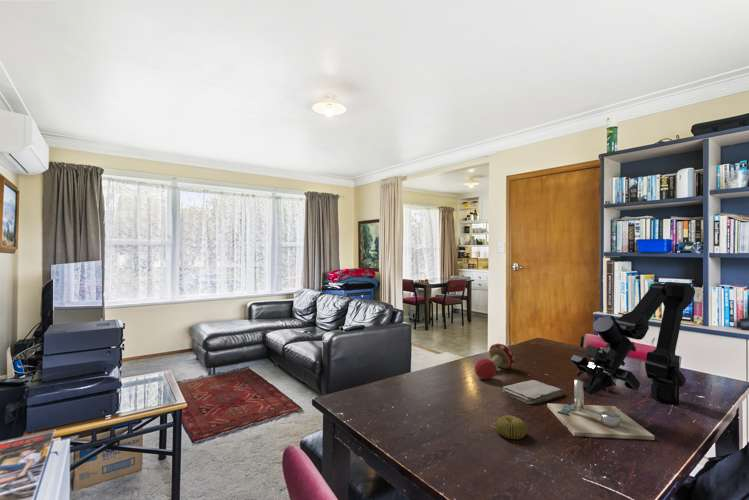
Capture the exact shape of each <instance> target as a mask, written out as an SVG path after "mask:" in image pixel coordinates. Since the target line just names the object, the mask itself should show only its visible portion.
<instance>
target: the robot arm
mask: <svg viewBox="0 0 749 500" xmlns="http://www.w3.org/2000/svg"><path fill="white" fill-rule="evenodd" d="M695 294H696V290H695V288H694V287H693V285H691V284H690V283H688V282H676V281H675V282H674V281H666V282H664V283H660V282H659V283H658V282H654V283H651V284H650V285H649V287H648V290H647V291H646V293H645V294H644V296H643V297H642V298H640V300H639V302H638V303H637V304H636V305H635V306H634V307H633V309H632V310H631V311H630V312H629V311H628V312H626V313H624V314H622V315H621V316H620V317H619V318H618V319H617V320H616V318H615V317H614V316H613V315H611V314H605V316H604V317H600V318H597V319H596V320H595V321H593V323H592V328H593V330H594V331H595V332H596V334H597V335H598V336H599V338H601V340H602V341H603V342H605V343H606V345H605V346H604V347H597V346H593V345H591V344H587V345H586V348H585V351H584V354H583V355H584V356H582V355H579V354H573V355H572V357H571V358H570V359H569V360H570V362H571V363H572V364H573V366H574V367H576V369H577V371H579V370H580V371H581V372H584V373H583V374H586V373H587V374H588V375H587V374H586V375H587V377H588V385H586V394H587V395H589V396H592V395H594V394H596V393H598V392H600V391H602V390H604V389H606V388H607V387H608V388H610V387H616V386H617V384H616V382H617V381H618V380H619V381H622V382H624V386H625V387H626V389H628V390H631V391H634V392H637V391H638V390H639V388H640V385H641V383H640V381H639V379H638V378H637V377H636V376H635V374H634V373H633V372H632V371H629V370H628V369H624V368H620V367H621V366H622V367H624V366H625V365H626V364H627V363H626V362H625V360H626V357H628V354H629V353H630V351H631V352H636V351H637V347H636V346H635V342H633V341H631V339H632V340H636V341H637V340H638V341H640V340H643V339H644V338H645V337H646V335H647V333H648V331H649V330H650V326H649V321H650V319H651V318H652V317H653V316H654V314H655V313H657V310H658V309H659V308H660V306H661V305H662V304H663V306H664V308H663V311H662V312H663V313H662V316H661V322H660V326H659V333H658V338H657V340H656V341H657V342H656V345H655V346H656V347H655V348H654V349H653V350H652V351H648V352H647V353H646V359H645V361H644V368H645V373H646V378H647V379H650V380H652V381H651V382H652V383H651V384H650V394H648V395H649V397H650V398H652V399H654V400H655V401H657V402H658V403H660V404H664V405H665V404H666V405H684V402H682V401H681V400H680V387H681V388H682V387H684V386H685V384H686V380H687V378H686V377H685V375H684V374H683V373H682V371H681V370H680V361H679V359H678V357H677V354H676V349H677V345H678V344H677V343H678V339H679V335H680V329H681V325H682V319H683V314H684V311H685V310H686V309H687V308H688V307H689V306H690V305H691V304H692V303H693V300H694V297H695ZM587 357H589V358H590V360H591V361H592V362H590V361H589V359H588V358H587Z"/></svg>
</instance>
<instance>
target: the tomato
mask: <svg viewBox="0 0 749 500" xmlns="http://www.w3.org/2000/svg"><path fill="white" fill-rule="evenodd" d="M474 369H475V370H474V371H475V374H476V375H477V377H478V378H479V379H480V380H484V381H489V380H491V379H492V378H494V377H495V376H496V373H497V367H496V366H495V364H494V363H493V361H491V360H490V359H488V358H481V359H479V360H478V361H477V362H476V363H475V366H474Z"/></svg>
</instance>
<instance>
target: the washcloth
mask: <svg viewBox="0 0 749 500" xmlns="http://www.w3.org/2000/svg"><path fill="white" fill-rule="evenodd" d="M501 389H502V390H503V391H502V392H501V393H502V394H504V395H506V396H507V397H511V398H512V399H515V400H517V401H520V403H521V402H522V403H524V404H526V405H535V404H539V403H542V402H545V401H546V402H547V401H549V400H552V399H554V398H559V397H562V396H563V395H564V393H565V392H564V390H563V389H562V388H559V387H556V386H553V385H549V384H546V383H544V382H541V381H538V380H536V379H531V380H527V381H521V382H517V383H514V384H509V385H505V386H504V385H503V387H502V388H501Z"/></svg>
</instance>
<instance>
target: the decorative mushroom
mask: <svg viewBox="0 0 749 500" xmlns="http://www.w3.org/2000/svg"><path fill="white" fill-rule="evenodd" d="M488 352H489V353H488V354H489V357H490V359H489V360H491V361H493V363H494V364H495V366H496V368H497V367H499V368H502V369H510V368H512V367H513V366H514V363H515V357H514V353H513V351H512V350H511V349H510V348H509V347H508V346H506V345H505V344H501V343H494V344H492V345H490V347H489V351H488Z"/></svg>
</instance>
